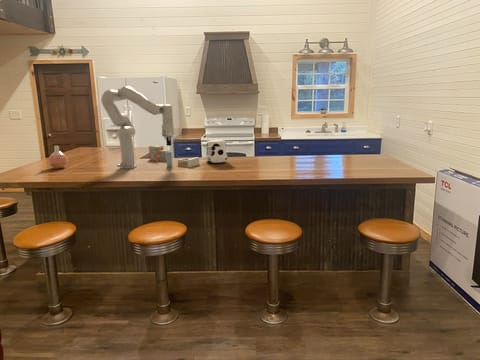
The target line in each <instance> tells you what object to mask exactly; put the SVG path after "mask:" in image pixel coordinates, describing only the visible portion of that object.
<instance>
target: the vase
mask: <svg viewBox="0 0 480 360" xmlns="http://www.w3.org/2000/svg"><path fill="white" fill-rule="evenodd" d="M53 148H54V149H53V150H54V151H53V152H52V153H51V154H50V156H48V160H47V161H48V165H49V166H50V167H51V168H53V169H54V170H60V169H59V168H62V169H64V168H65V167H67V165H68V163H69V159H68V157H67V155H66V154H65V153H63V152H61V151H60V146H59V145H54V146H53Z"/></svg>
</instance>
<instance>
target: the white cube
mask: <svg viewBox="0 0 480 360" xmlns="http://www.w3.org/2000/svg"><path fill="white" fill-rule="evenodd" d="M205 154H206V156H205V159H206V162H207V163H208V164H224V163H226V162H227V161H228V154H227V143H226V140H224V139H213V140H212V139H211V140H207V141H206V153H205Z"/></svg>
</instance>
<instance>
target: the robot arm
mask: <svg viewBox="0 0 480 360" xmlns="http://www.w3.org/2000/svg"><path fill="white" fill-rule="evenodd" d="M124 100H128V101H130V102H131V103H133V104H135V105H137V106H138V107H140V108H141V109H143V110H144V111H146V112H147V113H149V114H152V115H154V116H157V115H161V117H162V124H161V136H162V137H163V139H165V141H166V146H167V147H168V146H172V138H173V137H174V135H175V127H174V122H173V121H174V120H173V106H172V104H156V103H154V102H152V101H150V100H149V99H147V98H146V97H145V95H143V94H142V93H140V92H138V91H136V90H135V89H134V88H133V87H132V86H129V85H128V86H127V85H125V86H121V88H119V89H107V90H105V91H104V92H103V93H102V95H101V104H102V107H103V109H104V110H105V112H106V114H107V115H108V117H109V119H110V120H111V123H112V124H113V126H115V127H119V129H118V132H117V136H118V140H119V148H120V159H121V162H120V163H118V164H117V165H116V166H117V168H120V169H124V170H125V169H128V170H129V169H135V168H137V167H138V165H137V164H135V155H134V154H135V153H134V152H135V151H134V144H133V137H134V136H135V135H136V129H135V128H134V125H133V123H132V122H131V119H130V118H129V117H128V116H127V115H126V114H125V113H123V112H122V113H121V112H120V109H119V108H118V106H117V105H116V104H115V102H119V101H124Z"/></svg>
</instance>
